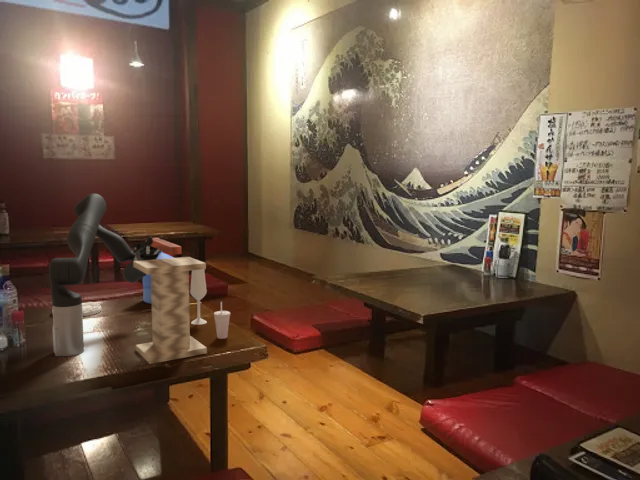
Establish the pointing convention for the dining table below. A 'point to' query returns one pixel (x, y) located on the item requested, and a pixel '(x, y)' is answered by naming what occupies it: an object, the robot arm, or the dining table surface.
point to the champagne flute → (198, 292)
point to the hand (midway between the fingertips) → (157, 238)
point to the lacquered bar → (166, 246)
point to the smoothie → (222, 323)
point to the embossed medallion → (90, 308)
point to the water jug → (148, 281)
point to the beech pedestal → (170, 309)
